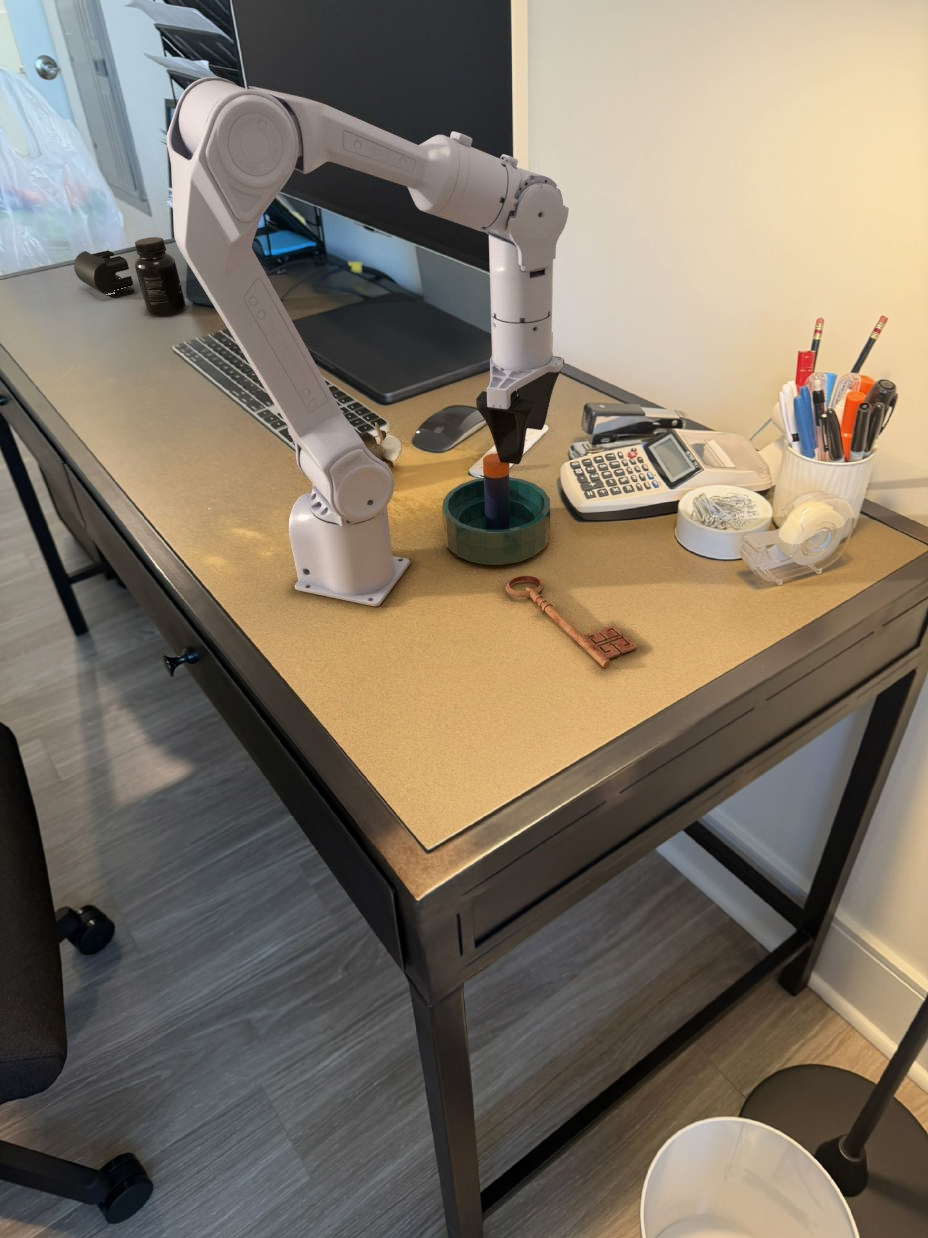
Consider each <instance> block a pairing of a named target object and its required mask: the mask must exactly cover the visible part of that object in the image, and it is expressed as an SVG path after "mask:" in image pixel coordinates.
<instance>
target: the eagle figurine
mask: <svg viewBox="0 0 928 1238" xmlns="http://www.w3.org/2000/svg"><path fill="white" fill-rule="evenodd" d="M374 427H375V431H376V433H377V436H378V438H379V443H378V442H377V441H378V440H377V438H376V436H374V435H373V434H371V433H370V432H368V431H364V432H363V431H362V432H359V431H358V432H357V434H358V435H359V437H360V438H361V439H362V441H363V442H364V444H365V446H366V448H367V449H368V450H369V451H370V452H371V453H372V454H373V455H375V456H376V457H377V458H378V459H380V460H381V461H383V462H384V463H385V464H386V465H387V466H388V467H389V468H392V469H393V468H394V463H393V462H397V460H398V459H399V457H400V455H401V454H402V452H403V450H402V449H403V448H402V447H403V444H402V442H401V440H400V439H399V438H398V437H397V436H395V435H393V434H388V435H387V432H386V430H383V429H381V427H380V425H379V423H378V422H375V424H374Z"/></svg>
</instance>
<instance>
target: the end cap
mask: <svg viewBox="0 0 928 1238" xmlns="http://www.w3.org/2000/svg"><path fill="white" fill-rule="evenodd" d="M73 270H74V273H75V275H76V276H77V277H76V278H78V280H80V281H81V282H83V284H85V285H87V286H90V287H91V288H92V289H95V290H96V291H98V292H99V293H101V294H103V295H105V294H108V293H113V292H115V294H111V295H106V296H107V297H109V298H111V299H117V298H121V297H125V296H128V295H132V294H135V289H134V288H133V287H132V286H134V281H133V277H132V276H131V275H129V276H125V277H121V276H120V275H118V274H117V273H119V272H120V273H121V272H124V271H128V270H130V267H129V263H128V261H127V259H126V258H124V257H123V256H121V255H118V256H115V253H114V252H112V251H110V250H104V251H99V252H95V253H91V252H89V251H86V250H83V251H82V252H80V253H79V254H77V256H76V257H75V260H74V263H73ZM119 278H120V279H119ZM128 286H130V287H128ZM124 287H126V288H124ZM121 288H123V289H121ZM117 289H119V290H117ZM114 290H115V291H114Z"/></svg>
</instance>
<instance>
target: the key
mask: <svg viewBox="0 0 928 1238" xmlns="http://www.w3.org/2000/svg"><path fill="white" fill-rule="evenodd" d="M520 582H530V583H534V584H535V585H537V586H538V587H536V588H534V589H533V588H531V587H528V586H527V587H525V590H526V591H520V590H519V591H518V590H515V589H513V588H511V586H512V585H514V584H517V583H520ZM543 588H544V584H543V582H542V581H541V579H540V578H538V577H535V576H531V575H521V576H520V575H519V576H516V577H513V578H511V579H510V580H509V581H507V583H506V584H505V590H506V592H507V594H509V595H511V596H513V597H516V598H517V597H518V598H528V597H530V598H531V599H532V600H533V603H535V604H537V605H538V607H539V608H540V609H542V611H543V613H546V615H548V616H549V617H550V618H551V619H552V620H553V621H554V622H555V623H556V624H558V625H559V626H560V628H562V629H563V630H564V631H565V632H566V633H567V634H568V635H569V636H570V637H571V638H572V639H573V640H574V641H575V642H576V643H578V644H579V645H580V646H581V648H583V649H584V650H585V651H586V652H587V653H588V654H589V655H590V656H591V657H592V658H593V659H594V660H595V661H596V662H597V663H598V664H599V665H601V667H603V668H604V669H606V668H608V667H610V666H611V664H612V661H611V660H610V659H612V658H615V657H617V656H620V655H622V654H626V653H628V652H631V651H635V650H636V649H638V645H636V644H635V643H634V642H633V641H632V640H631V639H630V638H629V637H627V636H626V635H625V634H624V633H623V632H621V630H619V628H617V627H616V626H615V625H614V624H613V625H609V626H606V627H603V628H601V629H598V631H597V630H595V631H592V632H588V633H586V634H582V633H581V632H580V631H579V630H578V629H577V628H576V627H575V626H574V625H572V623H571V622H569V621H568V620H567V618H565V617H564V616H563V615H562V614H561V613H560V612H559V611H558V610H557V609H556V608H554V606H553V605H552V604H551V603H550V602H548V601H547V599H545V598H544V597H543V596H542V595H541V594H539V593H540V592H541V591H542V589H543Z"/></svg>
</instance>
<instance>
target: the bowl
mask: <svg viewBox="0 0 928 1238" xmlns="http://www.w3.org/2000/svg"><path fill="white" fill-rule="evenodd" d="M509 501H510V528H509V529H504V530H485V499H484V477H480V478H474V479H470V480H468V481H466V482H463V483H460V484H458V485H457V486H456V487H454V488H452V489H451V490H450V491H449V492H448V493H447V494H446V495H445V497H444V498H443V501H442V507H441V509H442V510H441V511H442V525H443V540H444V542H445V543H446V546H447V548H448V550H450V551H451V552H452V553H453V554H455V556H457V557H459V558H461V559H463V560H466V561H468V562H471V563H477V564H480V565H481V564H482V565H487V566H490V565H491V566H493V565H494V566H496V565H497V566H498V565H499V566H502V565H511V564H515V563H520V562H523V561H525V560H527V559H530V558H532V557H534V556H536V555H537V554H538V553H540V552H541V551H542V550H544V548H546V546H547V544H548V542H549V541H550V538H551V537H550V534H551V498H550V496H549V495H548V493H546V491H545V490H544V489H543V488H542V487H540V486H538V485H537V484H536V483H533V482H531V481H529V480H527V479H522V478H517V477H510V476H509Z"/></svg>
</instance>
